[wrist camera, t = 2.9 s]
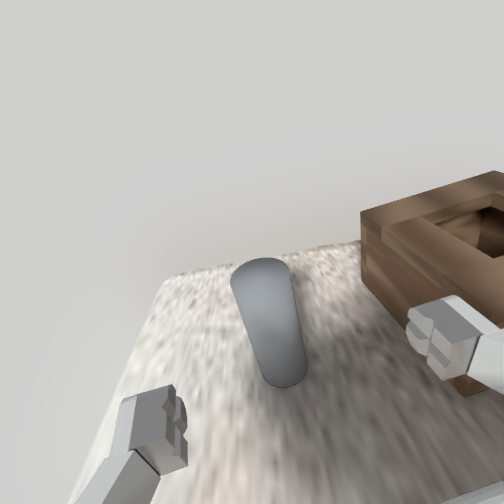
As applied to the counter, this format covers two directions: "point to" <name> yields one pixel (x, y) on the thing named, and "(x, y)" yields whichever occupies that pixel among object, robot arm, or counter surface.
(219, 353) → the counter surface
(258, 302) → the grey rubber peg
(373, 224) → the walnut drop box
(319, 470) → the counter surface
